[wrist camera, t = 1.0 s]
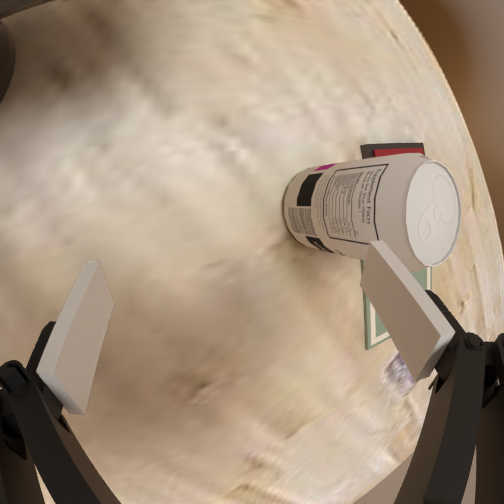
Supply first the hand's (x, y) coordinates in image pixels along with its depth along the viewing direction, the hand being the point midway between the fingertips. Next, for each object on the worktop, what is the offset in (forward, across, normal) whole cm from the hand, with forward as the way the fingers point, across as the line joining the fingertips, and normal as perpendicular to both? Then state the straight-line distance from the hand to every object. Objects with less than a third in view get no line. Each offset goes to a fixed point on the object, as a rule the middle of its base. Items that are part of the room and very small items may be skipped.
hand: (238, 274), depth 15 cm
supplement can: (+16, +9, -4) cm, 19 cm away
